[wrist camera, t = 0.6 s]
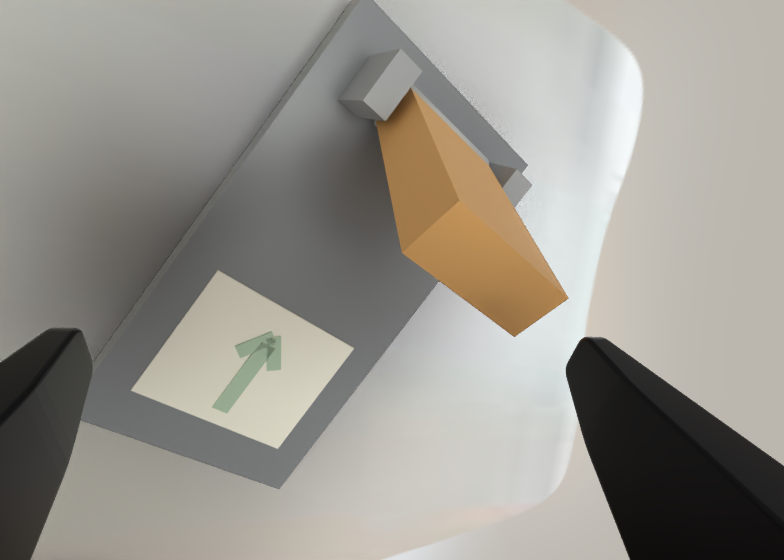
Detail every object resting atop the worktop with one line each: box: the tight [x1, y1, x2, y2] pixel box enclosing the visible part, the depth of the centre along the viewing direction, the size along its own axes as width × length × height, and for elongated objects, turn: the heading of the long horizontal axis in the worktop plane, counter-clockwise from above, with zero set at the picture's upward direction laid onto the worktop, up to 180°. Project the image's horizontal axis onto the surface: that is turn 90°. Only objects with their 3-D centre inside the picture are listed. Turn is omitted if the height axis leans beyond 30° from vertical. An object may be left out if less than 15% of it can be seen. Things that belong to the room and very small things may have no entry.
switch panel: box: [81, 0, 532, 489], centre depth 20 cm, size 20×10×5 cm, turn 140°
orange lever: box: [374, 84, 568, 337], centre depth 16 cm, size 2×4×10 cm, turn 49°
